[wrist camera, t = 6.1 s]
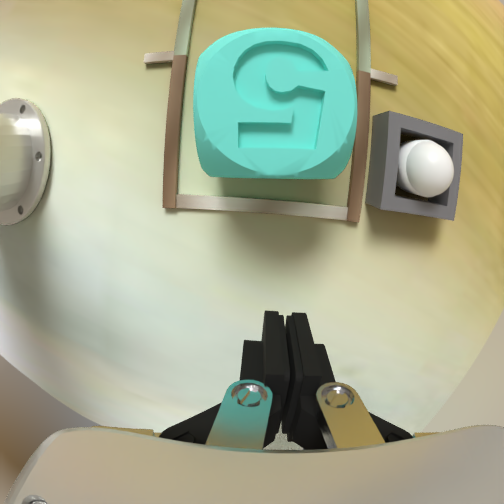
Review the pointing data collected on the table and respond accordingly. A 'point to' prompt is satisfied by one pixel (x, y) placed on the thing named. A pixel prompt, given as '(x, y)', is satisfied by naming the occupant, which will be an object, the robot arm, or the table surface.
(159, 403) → the table surface
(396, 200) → the collar
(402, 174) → the white ball
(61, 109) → the table surface
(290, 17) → the table surface
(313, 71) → the decorative dice
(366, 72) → the lane
